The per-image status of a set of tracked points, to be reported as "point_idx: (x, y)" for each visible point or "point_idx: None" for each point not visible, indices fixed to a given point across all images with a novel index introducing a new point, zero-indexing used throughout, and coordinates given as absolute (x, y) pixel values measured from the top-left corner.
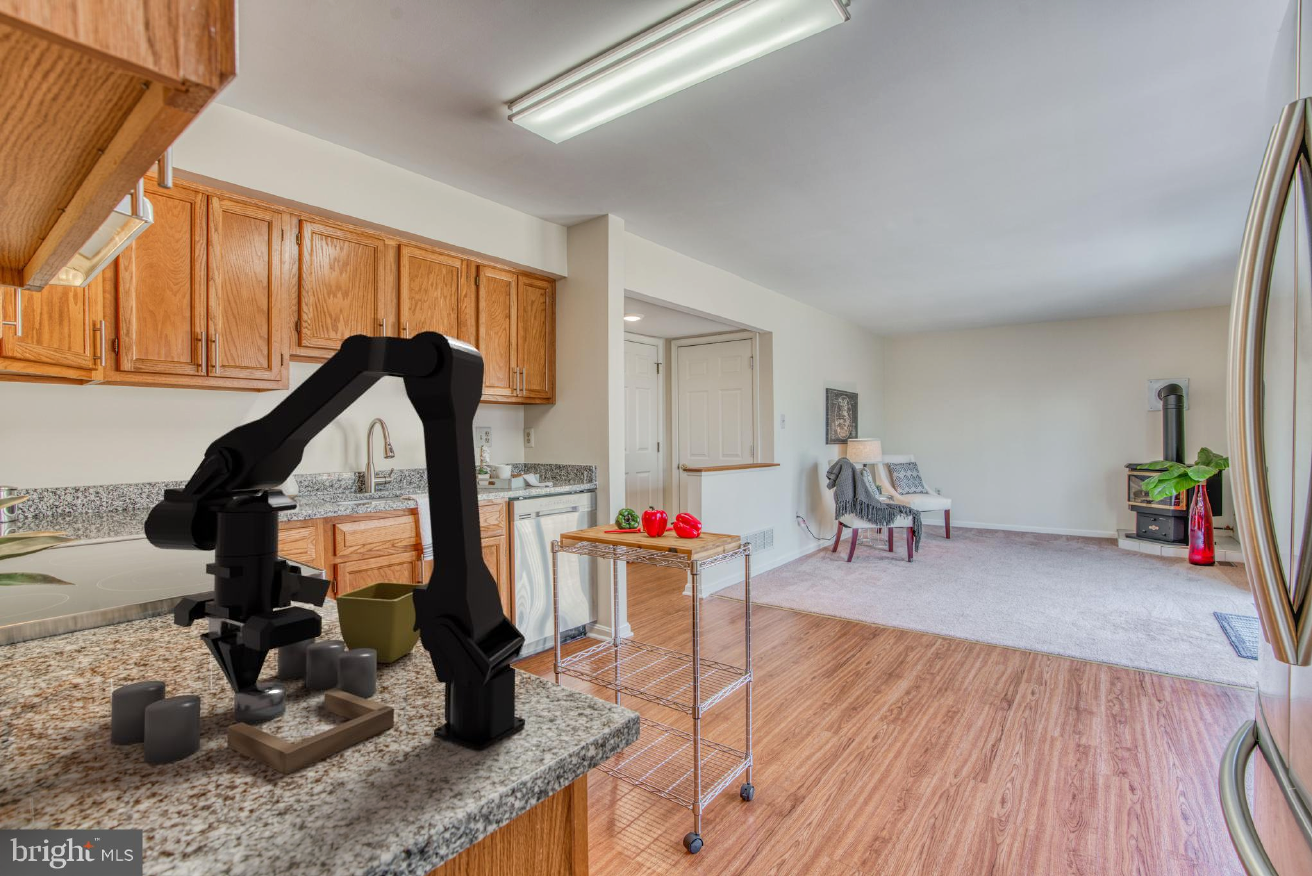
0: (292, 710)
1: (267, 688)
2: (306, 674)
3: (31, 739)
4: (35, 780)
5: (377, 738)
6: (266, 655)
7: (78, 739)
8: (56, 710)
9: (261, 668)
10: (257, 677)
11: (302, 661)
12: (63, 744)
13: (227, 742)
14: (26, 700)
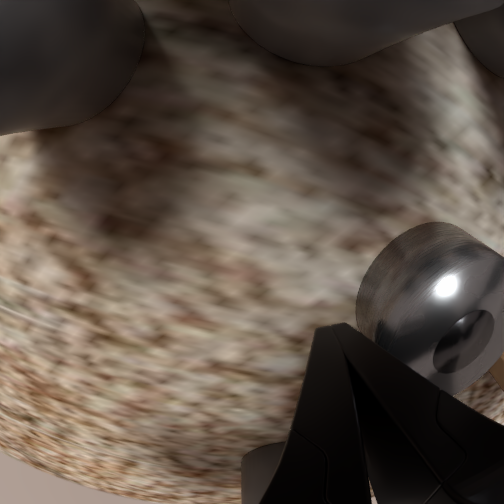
0: (474, 214)
1: (475, 324)
2: (310, 48)
3: (174, 500)
4: None
5: None
6: (492, 422)
7: (222, 489)
8: (66, 466)
9: (431, 382)
10: (397, 361)
11: (111, 13)
12: (228, 495)
13: (489, 371)
14: (17, 456)
